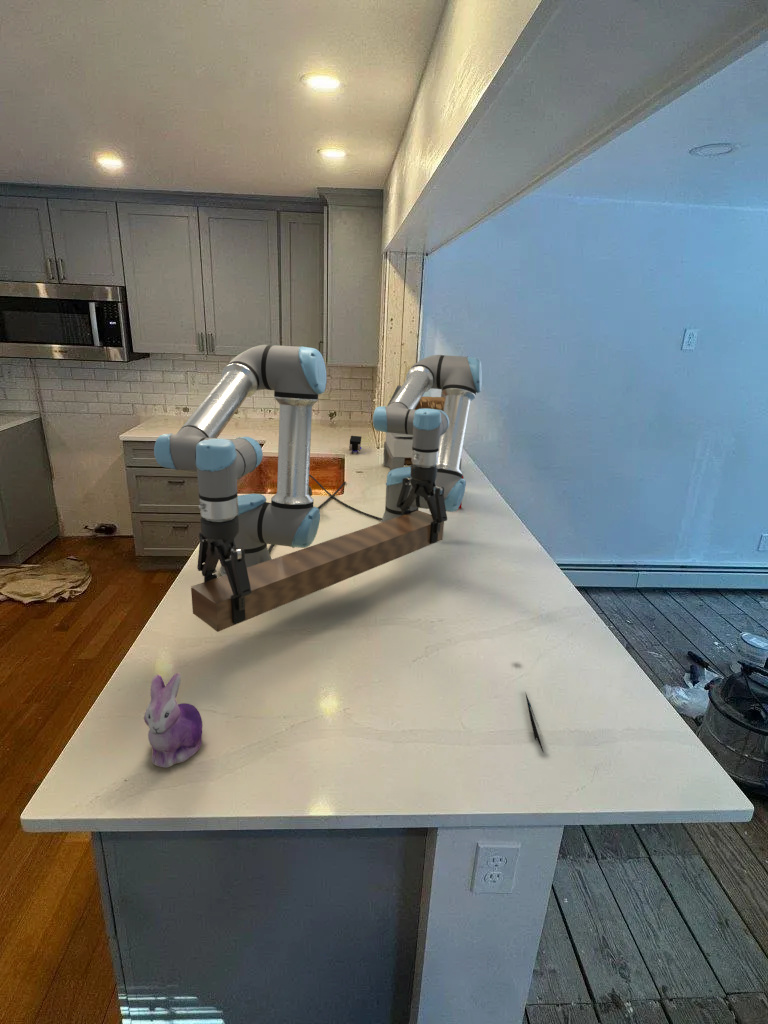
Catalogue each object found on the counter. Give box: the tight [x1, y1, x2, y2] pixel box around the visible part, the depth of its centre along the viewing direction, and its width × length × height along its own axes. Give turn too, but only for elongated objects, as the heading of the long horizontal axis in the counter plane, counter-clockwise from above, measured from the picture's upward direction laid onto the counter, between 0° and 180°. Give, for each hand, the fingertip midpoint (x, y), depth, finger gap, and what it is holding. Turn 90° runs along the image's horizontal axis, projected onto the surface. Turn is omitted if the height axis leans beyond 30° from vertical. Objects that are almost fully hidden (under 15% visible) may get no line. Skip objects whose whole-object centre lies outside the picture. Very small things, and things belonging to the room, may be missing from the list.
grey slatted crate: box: [383, 384, 463, 472], centre depth 268 cm, size 34×33×41 cm
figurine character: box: [348, 435, 363, 455], centre depth 309 cm, size 7×8×15 cm
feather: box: [525, 691, 547, 753], centre depth 115 cm, size 2×28×2 cm
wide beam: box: [190, 509, 445, 633], centre depth 145 cm, size 75×10×7 cm, turn 137°
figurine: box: [143, 672, 203, 768], centre depth 97 cm, size 9×10×15 cm
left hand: (225, 611), depth 123 cm, fingers closed on wide beam, 10 cm apart
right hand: (419, 536), depth 168 cm, fingers closed on wide beam, 10 cm apart
